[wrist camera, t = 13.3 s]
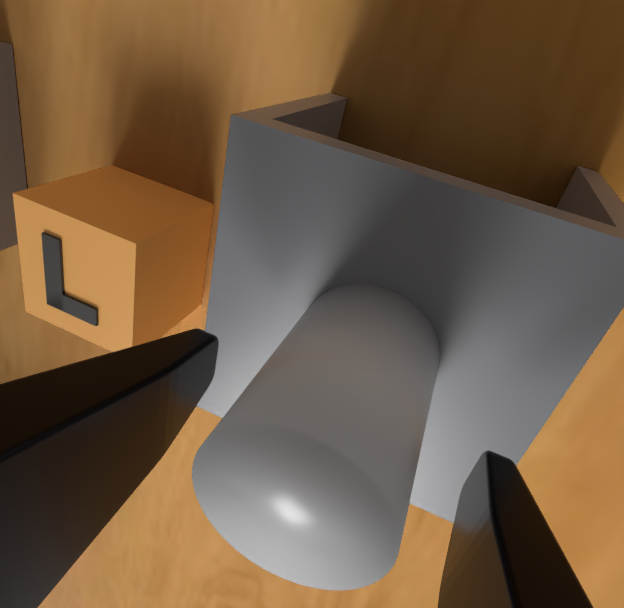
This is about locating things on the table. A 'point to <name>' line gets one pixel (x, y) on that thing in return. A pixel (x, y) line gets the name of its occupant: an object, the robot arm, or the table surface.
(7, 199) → the hood
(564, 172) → the table surface
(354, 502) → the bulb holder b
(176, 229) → the letter cube
